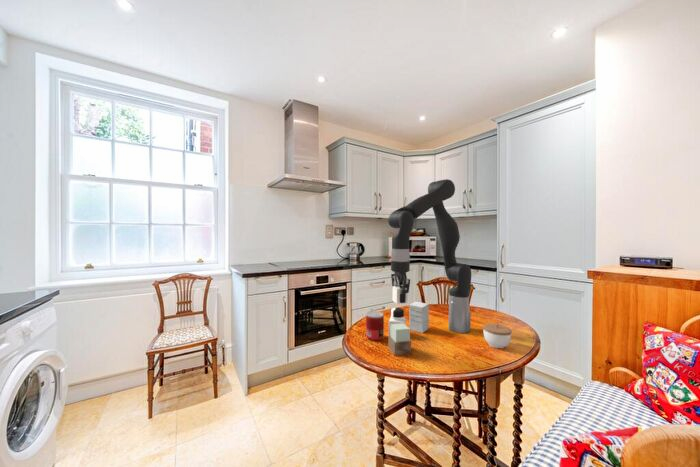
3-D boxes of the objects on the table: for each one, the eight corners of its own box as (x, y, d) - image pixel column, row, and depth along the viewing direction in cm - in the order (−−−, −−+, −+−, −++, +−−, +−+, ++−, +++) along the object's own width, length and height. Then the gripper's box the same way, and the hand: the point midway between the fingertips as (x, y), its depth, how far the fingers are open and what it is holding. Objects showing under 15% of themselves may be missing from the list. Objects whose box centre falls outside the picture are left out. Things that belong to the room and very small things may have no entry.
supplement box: (415, 325, 134) (415, 301, 133) (429, 328, 129) (429, 303, 129) (408, 329, 128) (408, 304, 128) (422, 333, 123) (422, 307, 123)
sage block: (403, 335, 109) (403, 323, 109) (409, 340, 103) (409, 328, 103) (390, 336, 108) (390, 324, 108) (396, 342, 102) (396, 329, 102)
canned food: (382, 341, 113) (383, 317, 113) (365, 340, 115) (365, 316, 115) (384, 335, 121) (384, 311, 121) (367, 333, 122) (367, 310, 122)
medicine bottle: (405, 331, 125) (405, 307, 125) (403, 337, 118) (404, 311, 118) (391, 329, 127) (391, 305, 127) (388, 335, 120) (388, 310, 120)
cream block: (402, 300, 108) (402, 285, 108) (407, 303, 104) (407, 288, 104) (392, 300, 107) (392, 286, 107) (396, 303, 103) (397, 288, 103)
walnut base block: (403, 346, 110) (403, 334, 110) (410, 353, 103) (411, 341, 103) (388, 347, 108) (388, 335, 108) (394, 355, 101) (394, 343, 101)
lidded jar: (503, 353, 103) (503, 330, 103) (477, 343, 112) (477, 322, 112) (516, 347, 109) (516, 325, 109) (491, 338, 118) (491, 318, 118)
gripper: (417, 261, 99) (416, 305, 99) (401, 257, 113) (401, 296, 113) (399, 262, 97) (398, 306, 98) (385, 258, 111) (385, 297, 112)
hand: (399, 300), depth 105 cm, fingers closed on cream block, 4 cm apart
